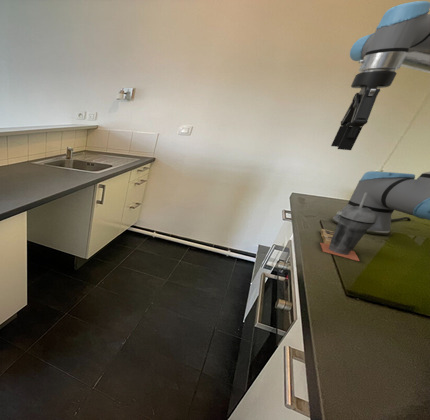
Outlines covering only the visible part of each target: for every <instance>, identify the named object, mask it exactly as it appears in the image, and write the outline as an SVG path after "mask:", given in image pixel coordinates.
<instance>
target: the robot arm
mask: <svg viewBox="0 0 430 420" xmlns="http://www.w3.org/2000/svg"><path fill="white" fill-rule="evenodd" d="M349 57H350V59H351V60H352V61H353V62H358V64H360V66H359V68H358V70H357V71H358V72H359V73H357V74H355V76H354V78H353V80H352V83H351V85H350V87H351V89H360V90H359V92H356V93H355V94H354V96H353V97H352V100H351V102H350V104H349V107H348V109H347V110H346V111H345V114H344V116H343V118H342V120H341V121H340V126H339V127H338V130H337V132H336V134H335V135H334V136H335V137H334V139H333V141H332V142H331V145H330V147H335V148H336V147H337V150H343V151H352V150H353V147H354V145H355V143H356V141H357V139H358V138H359V135H360V133H361V132H362V129H363V127H364V126H365V125H367V124H368V120H369V118H370V115H371V113H372V110H373V107H374V105H375V102H376V99H377V97H378V95H379V93H380V92H381V89H384V88H389V87H390V86H391V85H392V83H393V82H394V80H395V78H396V76H397V74H398V73H397V71H398V70H400V69H401V67H402V68H406V69H410V70H411V69H412V70H415V71H421V72H424V73H429V74H430V1H428V0H417V1H411V2H404V3H401V4H398V5H395V6H393V7H391V8H389V9H387V10H385V12H384V14H383V15H382V17H381V19H380V20H379V23H378V25H377V26H376V28H375V31H374V32H373V33H370V34H367V35H365V36H362V37H360V38H358V39H357V40H356V41H355V42H354V43H353V44H352V46H351V48H350V50H349ZM365 192H366V193H367V196H366V198H365V201H364V203H363V206H362V207H367V208H369V209H371V210H372V211H373V212H374V213H375V216H376V219H375V224H373V225H372V226H371V227H370V228H369V229H368V230H367V231H366V232H365V234H370V235H375V236H376V235H377V236H387V235H388V234H389V233H390V231H391V229H392V222H396V221H397V222H398V221H403V220H407V222H408V221H409V222H410V221H412V219H411V218H410V217H409V216H403V217H400V218H392V214H393V213H394V211H397V212H400V213H403V214H406V215H410V216H413V217H416V218H418V219H422V220H427V221H430V171H425V172H422V173H421V174H419V176H418V177H417V178H416V174H414V173H405V172H404V173H403V172H391V171H374V170H370V171H367V172H364V173H363V175H362V176H361V178H360V179H359V180H358V182H357V185H356V186H355V188H354V190H353V192H352V195H351V196H350V198H349V201H347V204H346V205H345V206H344V207H342V208H341V210H338V211H337V212H336V214H334V216H333V217H332V219H331V221H332V223H334V224H336V225H338V220H339V217H340V216H339V215H340V214H341V213H342V212H343V211H344V210H345V209H347V208H350V207H353V206H360V204H361V201H362V199H363V196H364V194H365Z"/></svg>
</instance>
